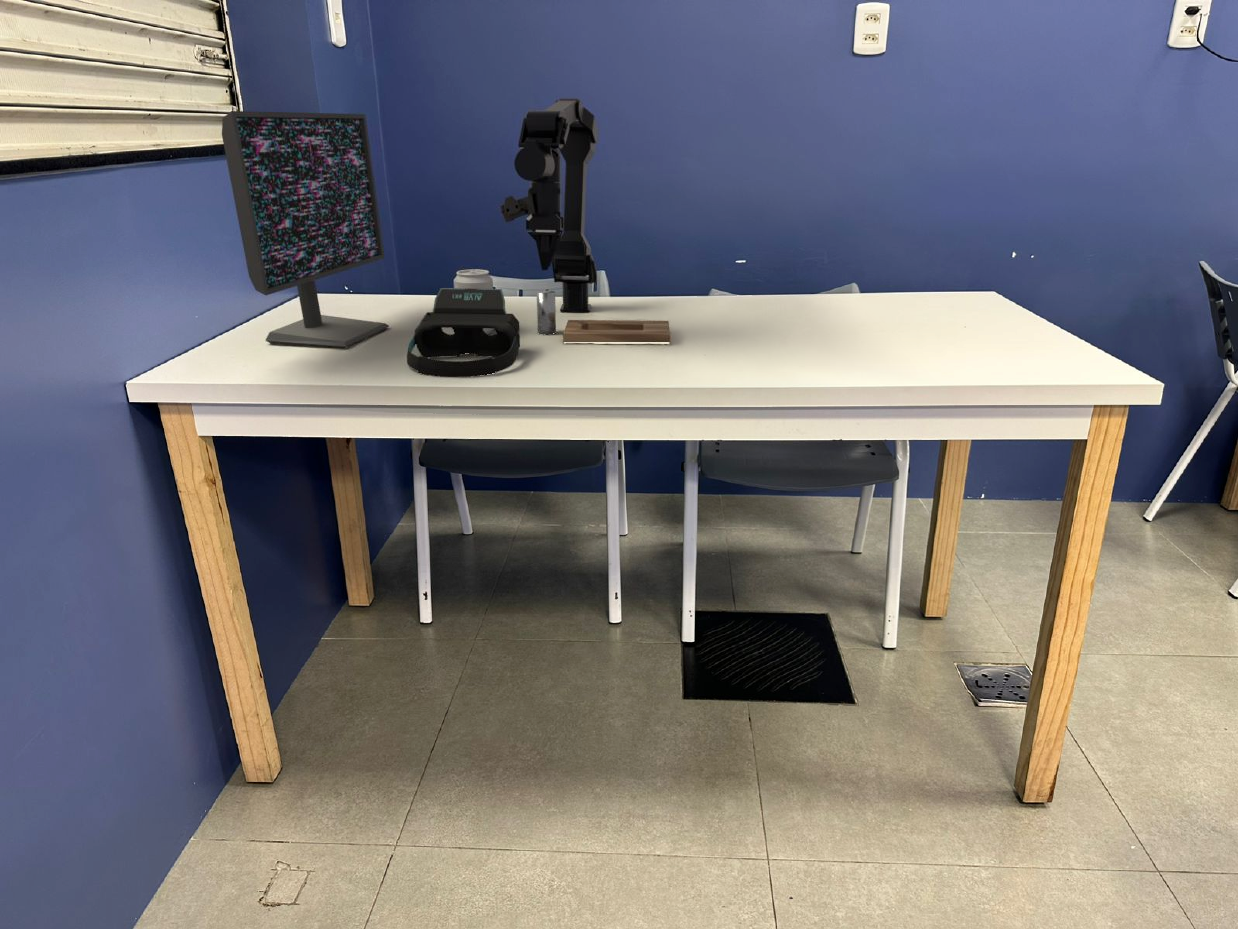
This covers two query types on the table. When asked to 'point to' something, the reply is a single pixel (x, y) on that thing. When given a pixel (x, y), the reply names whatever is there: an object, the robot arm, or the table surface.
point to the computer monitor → (304, 211)
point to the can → (474, 282)
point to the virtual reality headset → (465, 334)
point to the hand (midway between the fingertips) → (546, 268)
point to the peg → (546, 312)
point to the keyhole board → (616, 331)
